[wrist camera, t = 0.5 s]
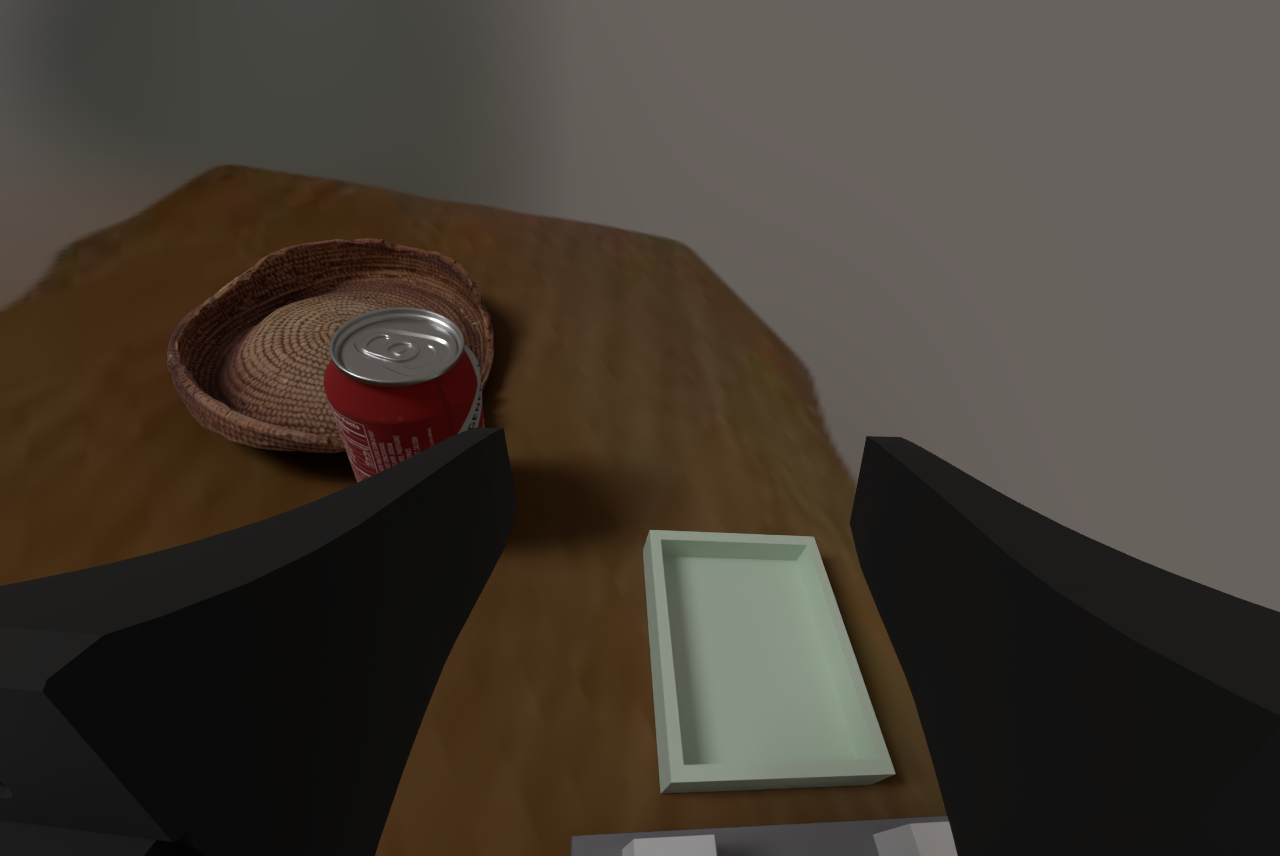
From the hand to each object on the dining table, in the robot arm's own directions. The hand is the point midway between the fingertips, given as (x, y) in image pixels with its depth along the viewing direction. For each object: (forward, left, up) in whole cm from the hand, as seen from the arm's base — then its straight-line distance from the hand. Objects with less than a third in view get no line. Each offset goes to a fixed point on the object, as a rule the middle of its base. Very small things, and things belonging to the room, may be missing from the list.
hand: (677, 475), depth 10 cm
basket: (+25, +18, -20) cm, 36 cm away
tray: (+4, -8, -19) cm, 21 cm away
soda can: (+13, +10, -19) cm, 25 cm away
